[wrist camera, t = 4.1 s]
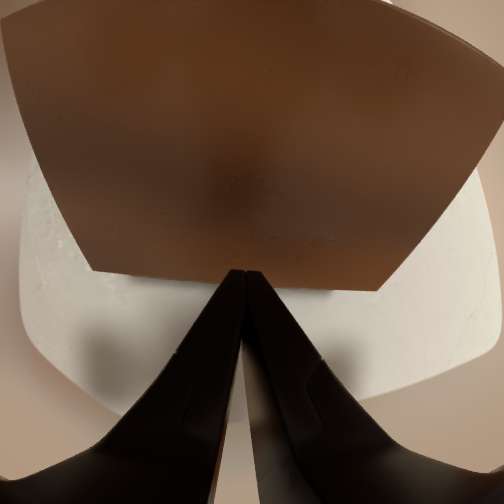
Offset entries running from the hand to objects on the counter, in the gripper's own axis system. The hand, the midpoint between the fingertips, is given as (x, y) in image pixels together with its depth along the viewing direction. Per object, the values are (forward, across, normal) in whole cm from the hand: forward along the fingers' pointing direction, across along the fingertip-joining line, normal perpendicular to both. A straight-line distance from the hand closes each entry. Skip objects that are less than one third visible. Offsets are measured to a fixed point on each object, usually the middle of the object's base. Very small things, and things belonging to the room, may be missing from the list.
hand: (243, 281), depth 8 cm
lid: (+2, 0, -2) cm, 3 cm away
